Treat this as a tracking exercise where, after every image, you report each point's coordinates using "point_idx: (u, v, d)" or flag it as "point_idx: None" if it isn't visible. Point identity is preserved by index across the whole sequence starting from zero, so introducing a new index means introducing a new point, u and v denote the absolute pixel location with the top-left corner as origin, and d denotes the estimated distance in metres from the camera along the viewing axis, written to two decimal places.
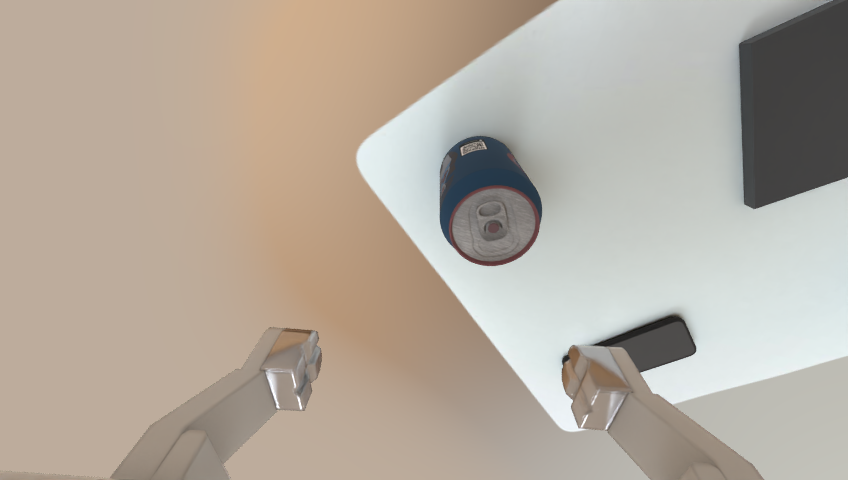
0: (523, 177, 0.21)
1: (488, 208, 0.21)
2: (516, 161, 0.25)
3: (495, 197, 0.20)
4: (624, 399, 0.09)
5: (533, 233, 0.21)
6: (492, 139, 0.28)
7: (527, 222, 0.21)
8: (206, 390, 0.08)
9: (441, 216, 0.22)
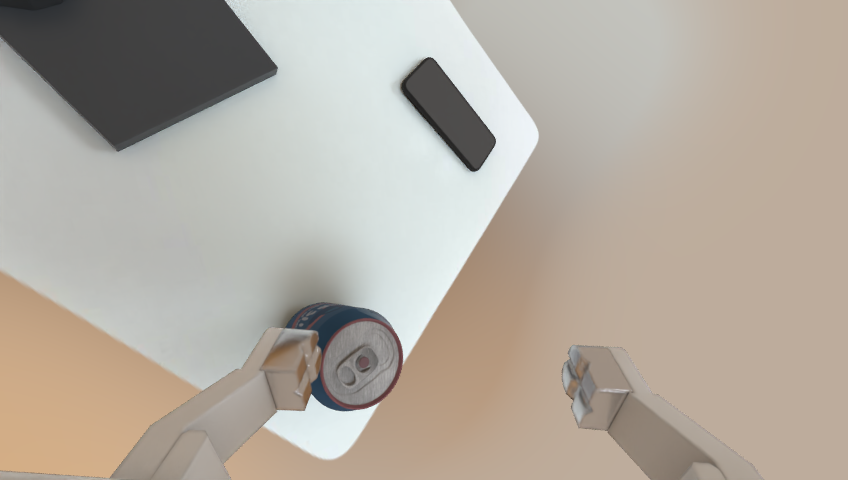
0: None
1: (346, 376, 0.21)
2: None
3: (333, 376, 0.21)
4: (624, 399, 0.09)
5: (358, 322, 0.22)
6: None
7: (349, 333, 0.21)
8: (206, 390, 0.08)
9: None
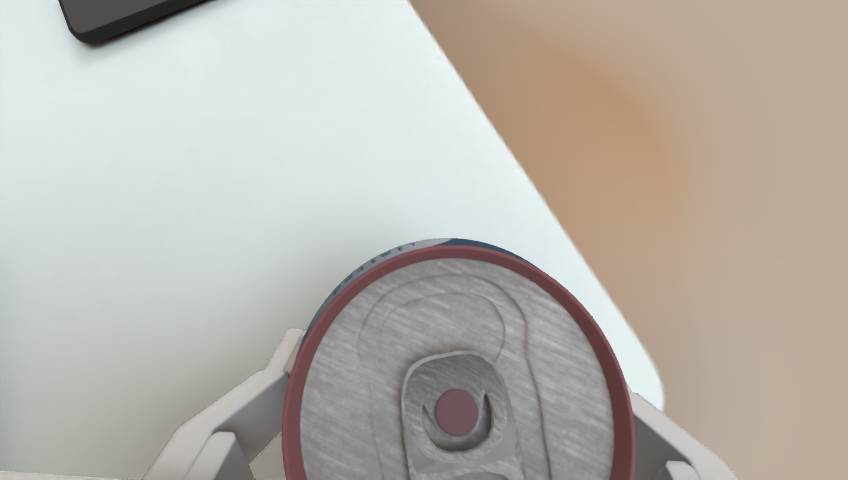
0: None
1: None
2: None
3: None
4: None
5: (307, 373, 0.06)
6: None
7: (329, 420, 0.06)
8: (231, 392, 0.08)
9: None
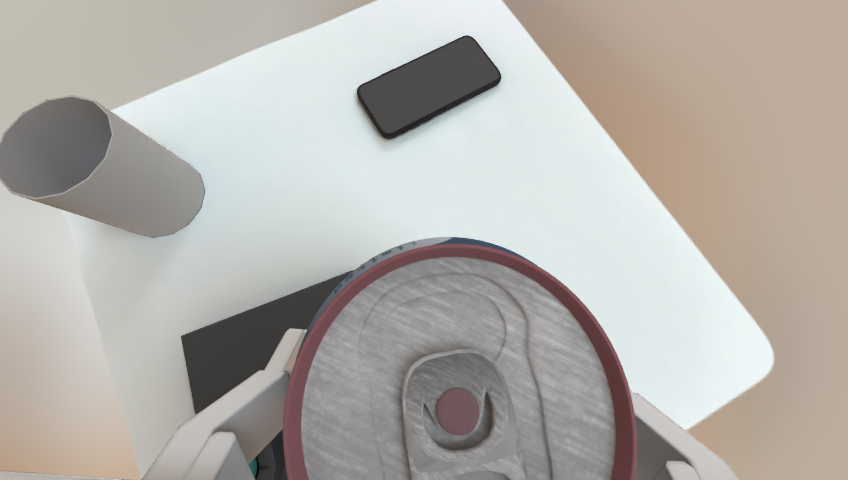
0: None
1: None
2: None
3: None
4: None
5: (308, 371, 0.06)
6: None
7: (330, 419, 0.06)
8: (231, 392, 0.08)
9: None
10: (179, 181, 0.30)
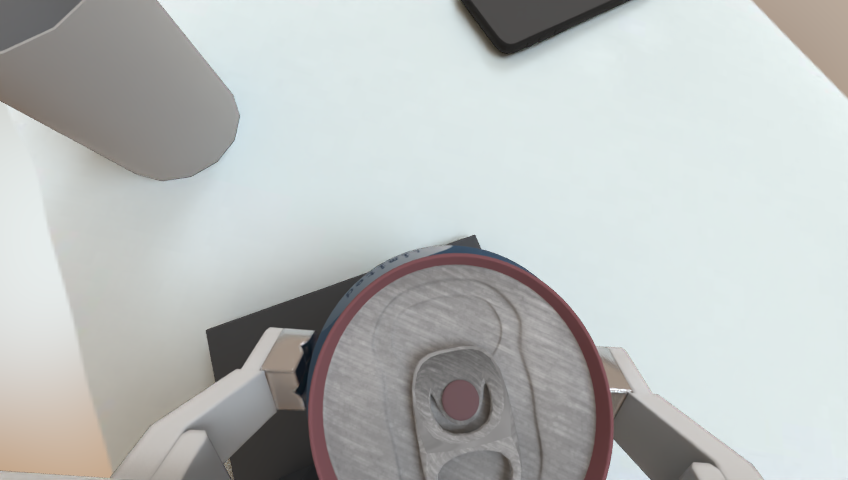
0: None
1: (475, 471, 0.06)
2: None
3: None
4: (624, 399, 0.09)
5: (328, 367, 0.06)
6: None
7: (348, 408, 0.06)
8: (206, 390, 0.08)
9: None
10: (207, 89, 0.19)
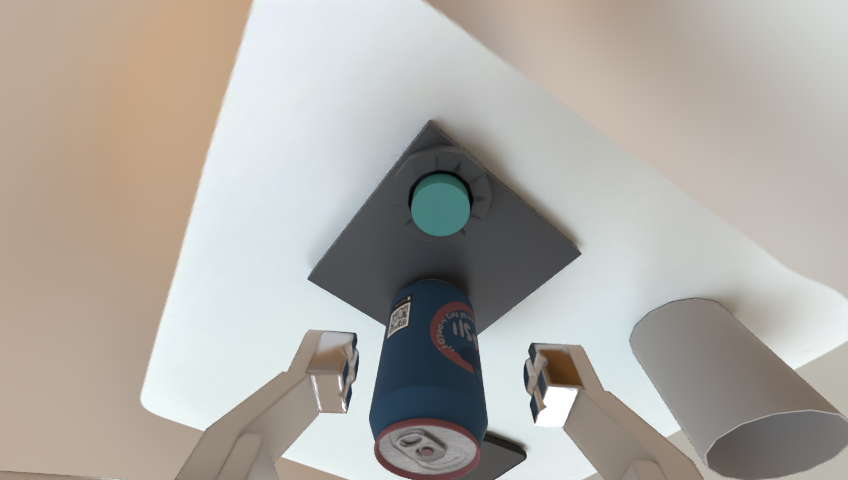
0: (435, 387, 0.17)
1: (410, 435, 0.17)
2: (445, 324, 0.21)
3: (409, 427, 0.17)
4: (576, 396, 0.09)
5: (474, 445, 0.17)
6: (423, 287, 0.24)
7: (460, 437, 0.17)
8: (256, 393, 0.08)
9: None
10: (651, 379, 0.28)
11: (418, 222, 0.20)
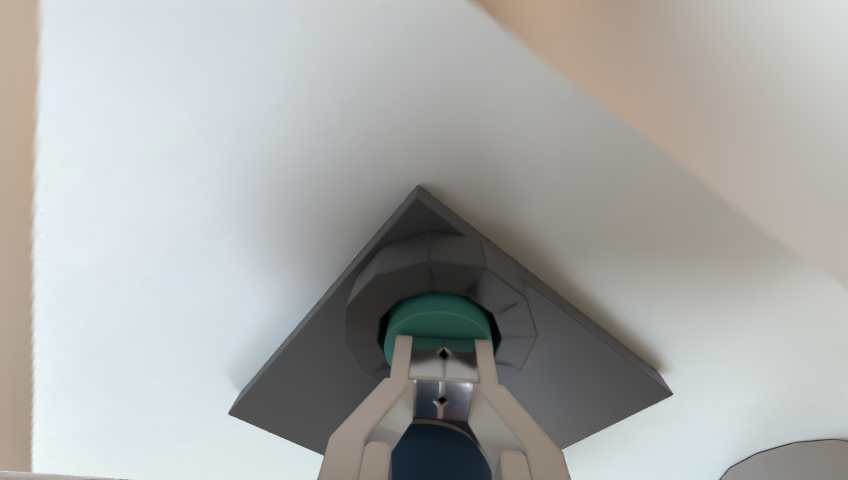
0: None
1: None
2: None
3: None
4: (473, 390, 0.09)
5: None
6: (409, 451, 0.15)
7: None
8: (367, 400, 0.08)
9: None
10: None
11: None
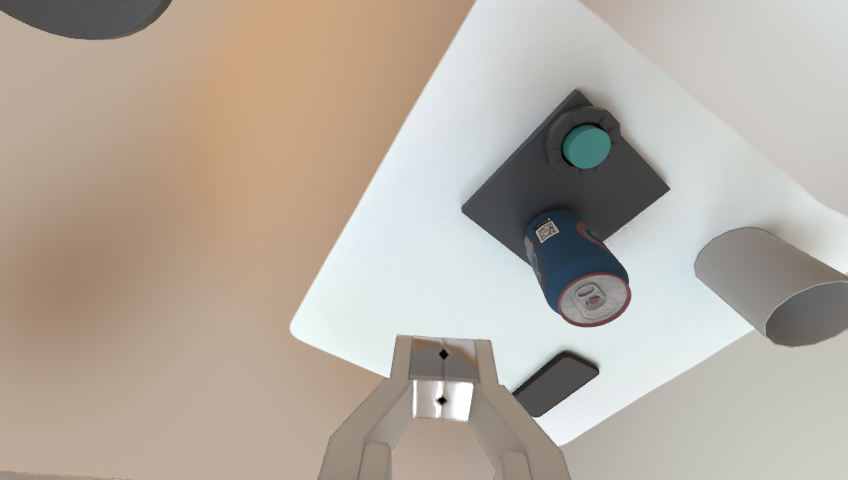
0: (601, 257, 0.27)
1: (584, 289, 0.27)
2: (586, 230, 0.31)
3: (586, 281, 0.26)
4: (473, 390, 0.09)
5: (627, 293, 0.27)
6: (557, 212, 0.34)
7: (618, 288, 0.27)
8: (367, 400, 0.08)
9: (548, 301, 0.29)
10: (714, 289, 0.38)
11: (572, 158, 0.30)
